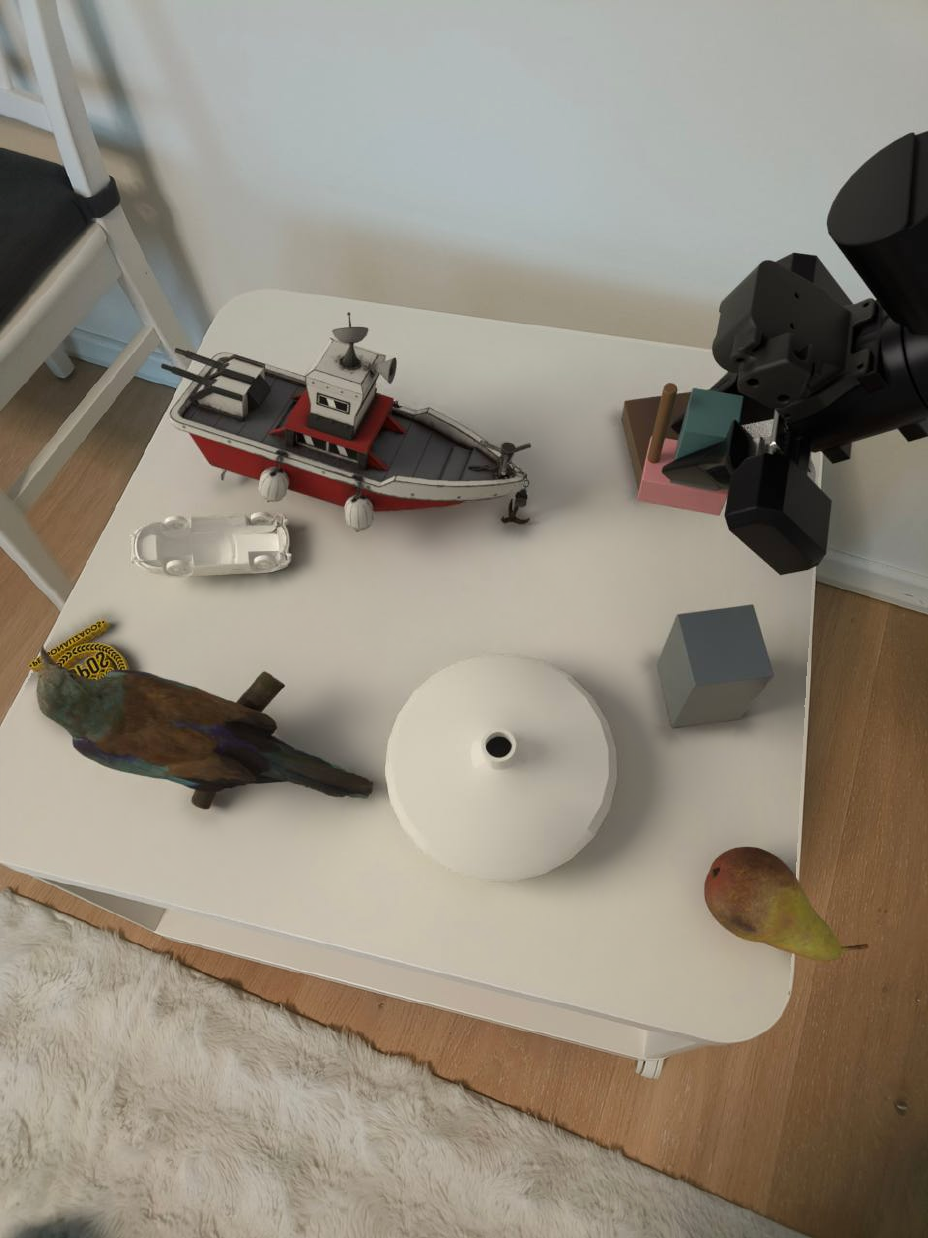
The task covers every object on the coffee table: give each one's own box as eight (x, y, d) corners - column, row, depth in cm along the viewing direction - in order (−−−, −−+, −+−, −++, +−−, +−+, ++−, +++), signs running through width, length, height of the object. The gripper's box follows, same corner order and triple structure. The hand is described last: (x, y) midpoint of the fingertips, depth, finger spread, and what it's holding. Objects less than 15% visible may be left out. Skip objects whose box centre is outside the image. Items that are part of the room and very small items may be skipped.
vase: (396, 897, 57) (380, 885, 51) (386, 678, 64) (371, 642, 57) (629, 876, 57) (643, 860, 50) (595, 658, 63) (604, 619, 57)
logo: (103, 617, 66) (147, 695, 63) (107, 621, 67) (151, 699, 64) (26, 663, 65) (67, 745, 62) (31, 667, 66) (72, 748, 63)
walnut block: (708, 407, 72) (714, 387, 70) (730, 481, 69) (737, 463, 66) (621, 419, 72) (624, 400, 70) (639, 493, 69) (643, 476, 67)
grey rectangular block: (723, 655, 63) (753, 603, 54) (740, 719, 61) (774, 675, 52) (656, 664, 63) (676, 613, 55) (671, 728, 61) (694, 686, 52)
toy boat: (214, 405, 76) (200, 218, 62) (532, 507, 75) (588, 340, 62) (142, 501, 68) (108, 310, 54) (498, 616, 67) (554, 452, 54)
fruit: (753, 868, 49) (916, 990, 49) (743, 815, 54) (890, 926, 55) (689, 925, 51) (846, 1042, 51) (686, 870, 56) (828, 976, 57)
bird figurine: (399, 714, 61) (180, 585, 47) (359, 850, 58) (108, 754, 44) (278, 707, 69) (60, 595, 55) (236, 826, 66) (-8, 739, 52)
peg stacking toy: (727, 471, 57) (763, 377, 49) (719, 516, 56) (756, 428, 47) (646, 457, 58) (668, 362, 50) (636, 500, 57) (657, 411, 48)
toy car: (287, 507, 68) (286, 528, 71) (128, 514, 65) (135, 535, 68) (292, 561, 66) (291, 580, 69) (129, 570, 63) (136, 590, 66)
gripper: (864, 114, 42) (618, 261, 53) (830, 418, 34) (554, 509, 46) (958, 264, 47) (718, 366, 59) (946, 549, 40) (675, 601, 52)
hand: (670, 450), depth 54 cm, fingers closed on peg stacking toy, 3 cm apart
